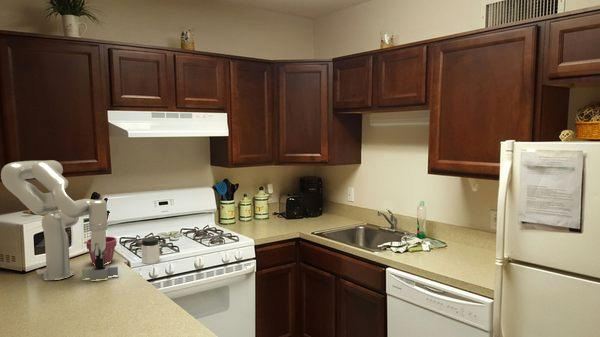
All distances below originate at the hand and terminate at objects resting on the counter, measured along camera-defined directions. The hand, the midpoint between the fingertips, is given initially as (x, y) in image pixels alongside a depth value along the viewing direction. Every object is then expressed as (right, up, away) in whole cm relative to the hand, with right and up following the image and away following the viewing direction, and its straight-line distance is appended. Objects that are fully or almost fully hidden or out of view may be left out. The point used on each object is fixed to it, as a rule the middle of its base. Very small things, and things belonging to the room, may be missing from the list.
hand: (100, 265), depth 193 cm
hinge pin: (0, -3, 0) cm, 3 cm away
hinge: (0, -6, 0) cm, 6 cm away
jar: (+14, -5, +27) cm, 31 cm away
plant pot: (-10, -5, +24) cm, 26 cm away
